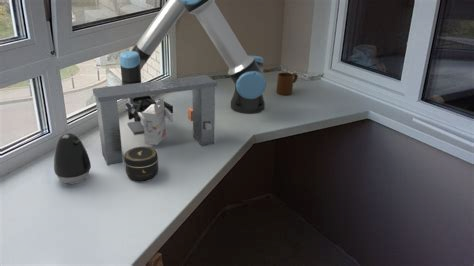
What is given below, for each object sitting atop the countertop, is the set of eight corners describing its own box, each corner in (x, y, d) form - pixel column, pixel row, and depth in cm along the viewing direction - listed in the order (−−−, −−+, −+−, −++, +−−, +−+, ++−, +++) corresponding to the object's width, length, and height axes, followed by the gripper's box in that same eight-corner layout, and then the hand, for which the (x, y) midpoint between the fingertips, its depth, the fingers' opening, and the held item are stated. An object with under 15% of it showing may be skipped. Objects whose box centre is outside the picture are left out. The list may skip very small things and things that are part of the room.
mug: (290, 88, 210) (291, 70, 206) (301, 92, 205) (303, 73, 201) (273, 92, 203) (274, 74, 199) (284, 96, 198) (285, 78, 194)
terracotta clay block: (187, 117, 156) (187, 107, 154) (197, 116, 157) (197, 106, 156) (204, 133, 143) (204, 123, 142) (214, 131, 145) (214, 121, 143)
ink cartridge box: (153, 133, 152) (151, 95, 146) (166, 134, 151) (164, 96, 145) (144, 143, 144) (141, 104, 138) (157, 145, 143) (155, 105, 137)
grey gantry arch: (100, 154, 140) (92, 88, 130) (206, 134, 157) (206, 74, 147) (106, 166, 133) (98, 97, 123) (216, 144, 150) (216, 82, 140)
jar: (129, 185, 123) (126, 163, 120) (123, 170, 131) (121, 148, 128) (162, 179, 127) (160, 157, 123) (154, 164, 135) (153, 143, 132)
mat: (127, 125, 163) (127, 122, 162) (152, 120, 167) (152, 118, 167) (134, 134, 155) (134, 132, 154) (160, 130, 159) (160, 127, 159)
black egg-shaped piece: (72, 192, 119) (64, 145, 112) (49, 181, 124) (40, 135, 117) (100, 177, 127) (94, 132, 120) (77, 167, 132) (70, 123, 125)
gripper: (166, 104, 164) (188, 125, 146) (111, 112, 155) (127, 136, 137) (165, 86, 161) (187, 105, 143) (109, 93, 152) (125, 115, 134)
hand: (158, 120), depth 140 cm, fingers closed on ink cartridge box, 9 cm apart
